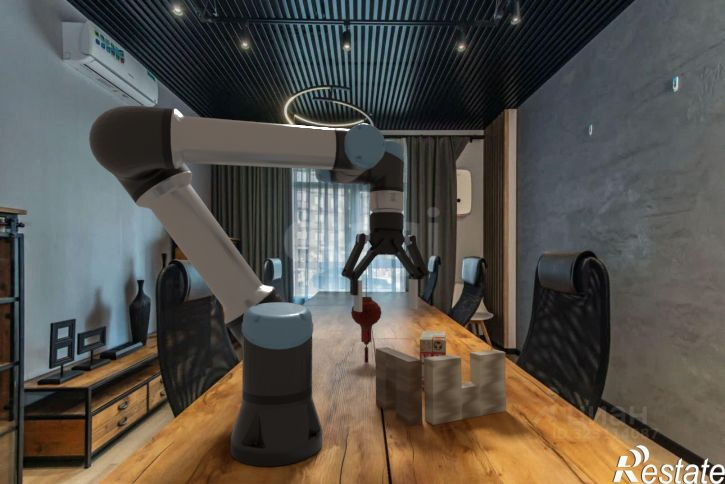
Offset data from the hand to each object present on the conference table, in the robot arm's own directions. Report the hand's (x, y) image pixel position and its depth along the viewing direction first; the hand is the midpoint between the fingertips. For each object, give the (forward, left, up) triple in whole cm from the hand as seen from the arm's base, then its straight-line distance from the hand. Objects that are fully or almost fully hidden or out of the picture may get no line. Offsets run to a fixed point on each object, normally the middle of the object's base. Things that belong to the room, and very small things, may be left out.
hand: (386, 310), depth 92 cm
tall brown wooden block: (0, -5, -21) cm, 21 cm away
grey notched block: (+12, -12, -21) cm, 26 cm away
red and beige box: (+22, +14, -21) cm, 34 cm away
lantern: (+13, +38, -21) cm, 46 cm away
